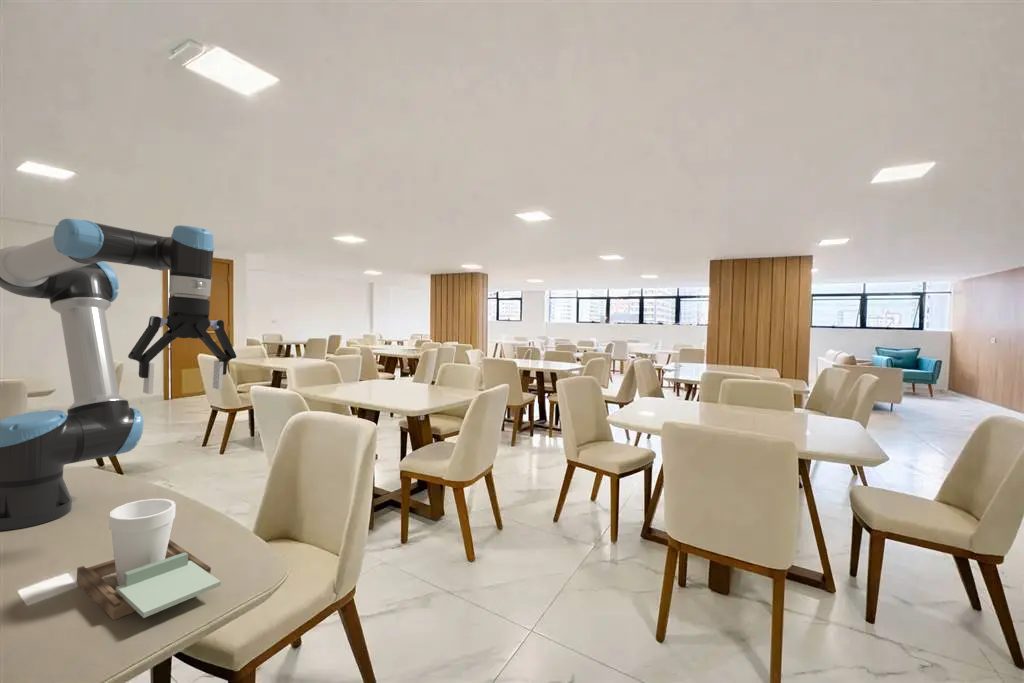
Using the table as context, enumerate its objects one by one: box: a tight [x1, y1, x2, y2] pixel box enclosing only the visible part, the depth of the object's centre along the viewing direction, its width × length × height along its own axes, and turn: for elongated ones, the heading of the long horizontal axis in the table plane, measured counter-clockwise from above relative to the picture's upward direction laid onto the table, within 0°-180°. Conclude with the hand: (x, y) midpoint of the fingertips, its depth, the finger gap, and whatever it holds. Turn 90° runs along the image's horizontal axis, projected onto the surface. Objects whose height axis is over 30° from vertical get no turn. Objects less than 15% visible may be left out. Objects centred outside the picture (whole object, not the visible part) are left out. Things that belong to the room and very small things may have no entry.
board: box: [76, 538, 212, 621], centre depth 81 cm, size 17×14×3 cm
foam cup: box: [108, 498, 177, 586], centre depth 82 cm, size 10×9×13 cm
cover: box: [115, 552, 222, 619], centre depth 76 cm, size 11×11×3 cm
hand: (184, 390), depth 101 cm, fingers open, 13 cm apart
